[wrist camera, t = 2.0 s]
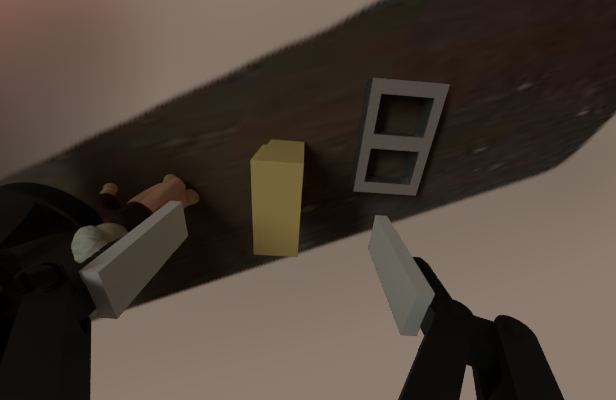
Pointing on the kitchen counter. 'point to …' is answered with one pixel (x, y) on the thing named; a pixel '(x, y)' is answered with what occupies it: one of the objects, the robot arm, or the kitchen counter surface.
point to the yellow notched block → (277, 197)
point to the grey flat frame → (396, 135)
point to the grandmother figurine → (127, 214)
